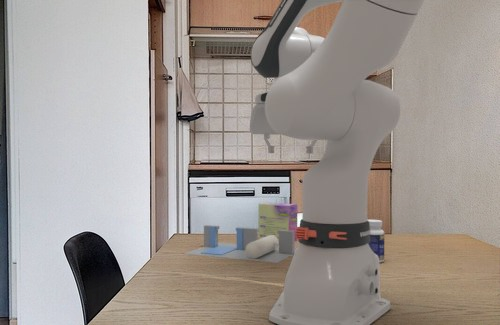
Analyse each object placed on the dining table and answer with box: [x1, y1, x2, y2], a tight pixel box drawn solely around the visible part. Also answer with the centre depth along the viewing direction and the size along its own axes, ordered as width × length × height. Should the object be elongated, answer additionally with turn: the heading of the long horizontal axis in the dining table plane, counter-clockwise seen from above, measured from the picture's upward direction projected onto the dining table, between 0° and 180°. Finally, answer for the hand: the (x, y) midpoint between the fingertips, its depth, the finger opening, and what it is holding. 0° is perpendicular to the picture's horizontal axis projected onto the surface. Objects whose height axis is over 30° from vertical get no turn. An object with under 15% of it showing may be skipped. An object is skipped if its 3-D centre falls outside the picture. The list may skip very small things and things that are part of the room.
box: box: [257, 202, 298, 243], centre depth 137 cm, size 10×6×12 cm, turn 58°
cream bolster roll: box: [245, 235, 279, 259], centre depth 116 cm, size 12×4×4 cm, turn 155°
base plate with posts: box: [183, 224, 297, 264], centre depth 120 cm, size 18×26×7 cm
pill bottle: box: [367, 219, 385, 264], centre depth 112 cm, size 6×6×10 cm
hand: (290, 153), depth 113 cm, fingers open, 8 cm apart
